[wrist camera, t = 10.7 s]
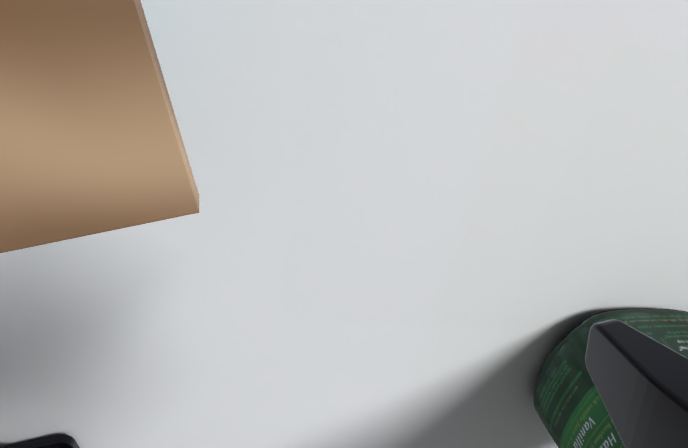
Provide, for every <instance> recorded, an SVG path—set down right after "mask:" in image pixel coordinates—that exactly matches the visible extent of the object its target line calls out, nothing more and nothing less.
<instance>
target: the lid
mask: <svg viewBox="0 0 688 448" xmlns="http://www.w3.org/2000/svg"><path fill="white" fill-rule="evenodd" d="M194 213H199V194H198V190H197V187H196V184H195V180H194V177H193V174H192V171H191V167H190V164H189V161H188V157H187V154H186V151H185V147H184V144H183V141H182V137H181V134H180V131H179V127H178V124H177V121H176V117H175V114H174V111H173V108H172V104H171V101H170V98H169V94H168V91H167V88H166V84H165V81H164V78H163V74H162V71H161V68H160V64H159V61H158V58H157V54H156V51H155V48H154V45H153V41H152V38H151V35H150V31H149V28H148V25H147V21H146V18H145V15H144V11H143V8H142V5H141V1H140V0H0V253H3V252H8V251H13V250H18V249H23V248H28V247H33V246H37V245H42V244H47V243H52V242H57V241H62V240H67V239H72V238H77V237H82V236H86V235H91V234H96V233H101V232H106V231H111V230H116V229H121V228H126V227H130V226H135V225H140V224H145V223H150V222H155V221H160V220H165V219H170V218H174V217H179V216H184V215H189V214H194Z"/></svg>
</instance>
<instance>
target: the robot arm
mask: <svg viewBox="0 0 688 448" xmlns="http://www.w3.org/2000/svg"><path fill="white" fill-rule="evenodd" d="M585 362H586V367H587V370H588V372H589V374H590V376H591V378H592V380H593V382H594V385H595V387H596V389H597V391H598V393H599V395H600V397H601V399H602V401H603V403H604V405H605V407H606V409H607V411H608V413H609V416H610V418H611V420H612V422H613V424H614V426H615V428H616V430H617V432H618V434H619V436H620V438H621V440H622V442H623V444H624V446H625V448H688V358H687V357H685V356H683V355H681V354H679V353H678V352H676V351H674V350H672V349H670V348H669V347H667V346H665V345H663V344H661V343H660V342H658V341H656V340H654V339H652V338H651V337H649V336H647V335H645V334H644V333H642V332H640V331H638V330H636V329H635V328H633V327H631V326H629V325H627V324H626V323H624V322H622V321H620V320H616V319H611V320H607V321H603V322H598V323H595V324H593V325H592V326H591V328H590V332H589V337H588V343H587V349H586V355H585ZM6 448H79V446H78V445H77V443H76V441H75V440H74V439H73V438H72V437H70V436H68V435H57V436H53V437H48V438H44V439H40V440H36V441H31V442H27V443H23V444H18V445H14V446H10V447H6Z"/></svg>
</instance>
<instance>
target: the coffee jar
mask: <svg viewBox="0 0 688 448" xmlns="http://www.w3.org/2000/svg"><path fill="white" fill-rule="evenodd" d="M611 319H616V320H620V321H622V322H624V323H626V324H627V325H629V326H631V327H633V328H635V329H636V330H638V331H640V332H642V333H644V334H645V335H647V336H649V337H651V338H652V339H654V340H656V341H658V342H660V343H661V344H663V345H665V346H667V347H669V348H670V349H672V350H674V351H676V352H678V353H679V354H681V355H683V356H685V357H687V358H688V312H686V311H678V310H670V309H627V310H615V311H608V312H603V313H600V314H597V315H594V316H592V317H590V318H588V319H587V320H586V321H584V322H583V323H582V324H581V325H579V326H578V327H576V328H575V329H574V330H573V331H571V332H570V333H569V334H568V335H567V336H566V337H565V338H564V339H563V340H562V341H561V342H560V343H559V344H557V345H556V347H555V348H554V349H553V351H552V352H551V353H550V355H549V356H548V358H547V359H546V361H545V363H544V365H543V368H542V370H541V371H540V374H539V376H538V380H537V383H536V387H535V391H534V406H535V409H536V411H537V413H538V415H539V416H540V418H541V420H542V422H543V423H544V425H545V427H546V428H547V430H548V432H549V433H550V435H551V436H552V438H553V439H554V441H555V443H556V444H557V446H558V447H559V448H625V446H624V444H623V442H622V440H621V438H620V436H619V434H618V432H617V430H616V428H615V426H614V424H613V422H612V420H611V418H610V416H609V413H608V411H607V409H606V407H605V405H604V403H603V401H602V399H601V397H600V395H599V393H598V391H597V389H596V387H595V385H594V382H593V380H592V378H591V376H590V374H589V372H588V370H587V367H586V362H585V355H586V349H587V343H588V337H589V332H590V328H591V326H592V325H593V324H595V323H598V322H603V321H607V320H611Z"/></svg>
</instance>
